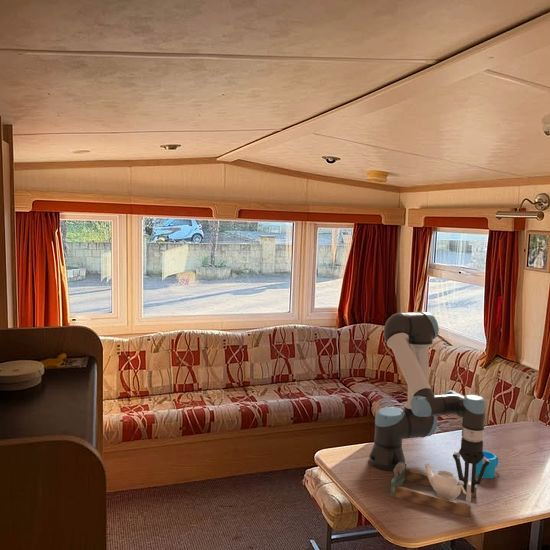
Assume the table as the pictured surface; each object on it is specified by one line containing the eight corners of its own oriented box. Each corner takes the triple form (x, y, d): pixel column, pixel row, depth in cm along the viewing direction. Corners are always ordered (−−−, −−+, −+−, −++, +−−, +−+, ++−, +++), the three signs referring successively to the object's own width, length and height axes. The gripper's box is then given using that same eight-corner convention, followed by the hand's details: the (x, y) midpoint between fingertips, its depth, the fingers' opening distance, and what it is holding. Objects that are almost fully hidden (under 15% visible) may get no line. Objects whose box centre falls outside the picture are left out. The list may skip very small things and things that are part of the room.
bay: (388, 495, 203) (389, 472, 202) (400, 476, 218) (401, 455, 217) (469, 517, 190) (471, 493, 189) (476, 495, 205) (477, 473, 204)
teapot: (455, 513, 192) (457, 488, 191) (415, 488, 209) (416, 465, 208) (474, 506, 196) (475, 482, 195) (433, 483, 214) (434, 460, 213)
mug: (485, 480, 217) (486, 461, 216) (469, 471, 224) (470, 453, 223) (505, 474, 223) (506, 455, 222) (488, 466, 230) (490, 447, 229)
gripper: (452, 438, 195) (448, 500, 197) (490, 445, 189) (486, 509, 191) (455, 431, 201) (451, 491, 204) (492, 438, 195) (488, 499, 198)
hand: (468, 499), depth 198 cm, fingers closed
